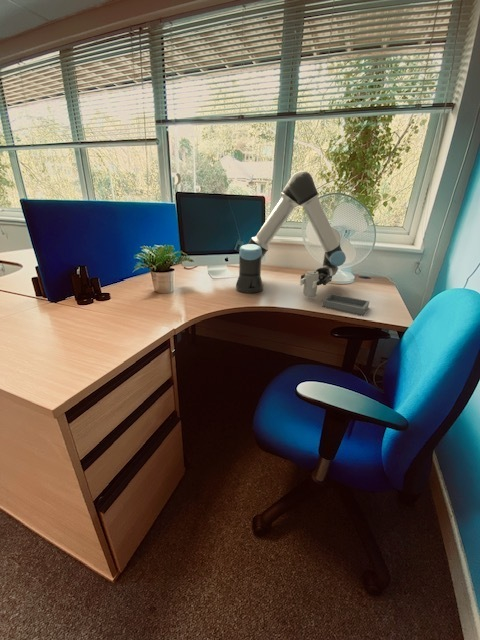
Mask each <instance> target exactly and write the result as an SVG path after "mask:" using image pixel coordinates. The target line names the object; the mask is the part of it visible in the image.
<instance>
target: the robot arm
mask: <svg viewBox="0 0 480 640" xmlns="http://www.w3.org/2000/svg"><path fill="white" fill-rule="evenodd" d="M280 195H281V197H280V199H279V201H278V202H277V204H276V205H275V206H274V208H273V209H272V211H271V213H270V214H269V215H268V217H267V219H266V220H265V222H264V223H263V225H262V226H261V227H260V229H259V231H258V232H257V234H256V235H255V236H252V237H251V238H250V240H249V241H248V243H246V244H243V245H241V246H240V247H239V251H238V252H239V255H238V256H239V263H238V264H239V265H238V266H239V267H238V269H239V270H238V272H239V273H238V274H239V275H238V278H237V279H236V280H237V281H236V283H235V284H236V285H235V290H236V289H237V290H236V291H237V292H240V293H244V294H245V293H246V294H256V293H261V292H262V291H263V290H264V282H263V280H262V276H261V271H262V260H263V258H264V257H265V255H266V254H267V252H268V250H269V244H270V243H271V242H272V240H273V239H274V237H275V236H276V235H277V234H278V232H279V230H280V229H281V227H282V226H283V225H284V223H285V222H286V220H287V219H288V218H289V216H290V215H291V213H292V212H293V210H294V209H295V208H296V207H297V208H298V207H302V209H303V210H304V212H305V214H306V216H307V218H308V220H309V222H310V224H311V226H312V228H313V231H314V232H315V234H316V236H317V239H318V241H319V242H320V245H321V248H322V249H323V252H324V256H323V261H322V266H320V267H319V268H317V269H316V270H315V271H317V272H318V274H319V278H318V280H316V281H314V282H313V286H312V288H314V287H316V286H317V287H318V286H320V285H322V286H326V285H327V284H328V283H330V282H332V279H333V277H334V276H335V275H336V273H338V271H339V267H341V266H343V265H344V263H345V262H346V260H347V259H346V258H347V257H346V254H345V252H344V251H343V249H342V247H341V242H339V241H338V239H337V237H336V235H335V232H334V230H333V227H332V226H331V224H330V222H329V218H328V217H327V215H326V213H325V211H324V209H323V207H322V204H321V202H320V200H319V198H318V197H319V192H318V190H317V187H316V184H315V181H314V179H313V177H312V175H311V174H310V173H309V172H307V171H306V170H299V171H297V172H294V173H293V174H292V176H291V177H290V178H289V180H288V182H287V183H286V185H285V186H284V188H283V189H282V191H281V194H280ZM305 274H306V273H304V274H302V275H300V280H299V286H304V282H305Z"/></svg>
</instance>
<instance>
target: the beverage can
mask: <svg viewBox="0 0 480 640" xmlns="http://www.w3.org/2000/svg"><path fill="white" fill-rule="evenodd" d="M304 274H305V282H304V284H303V292H302V294H303V296H305V297H308V298H314V297H315V296H316V295H317V291H318V285H317V286H316V287H314V288H312V286H313V282H314V281H316V280H318V278H319V274H318V272H317V271H316V270H307V271H306V272H305V273H304Z"/></svg>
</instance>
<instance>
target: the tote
mask: <svg viewBox="0 0 480 640" xmlns="http://www.w3.org/2000/svg"><path fill="white" fill-rule="evenodd" d="M369 305H370V300H365V299H361V298H357V297H356V298H355V297H350V296H346V295H345V296H344V295H339V294H335V293H330V294H329V295H328V296H326V297H325V298H324V299H323V300H322V304H321V307H323V308H325V307H326V308H325V309H330V308H331V310H334V309H335V311H339V312H344V313H347V312H348V314H353V315H356V314H357V316H361V315H362V316H361V317H363V316H364V315H365V313H366V312H367V310H368V309H369Z"/></svg>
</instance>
